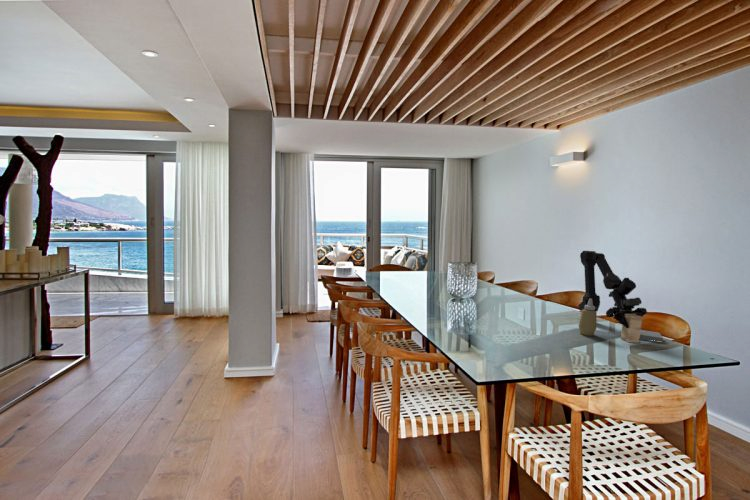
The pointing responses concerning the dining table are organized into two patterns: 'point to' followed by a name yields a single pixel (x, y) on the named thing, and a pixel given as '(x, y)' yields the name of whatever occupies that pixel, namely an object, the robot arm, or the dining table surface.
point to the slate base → (650, 335)
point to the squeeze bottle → (588, 319)
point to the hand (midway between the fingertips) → (633, 327)
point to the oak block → (632, 328)
